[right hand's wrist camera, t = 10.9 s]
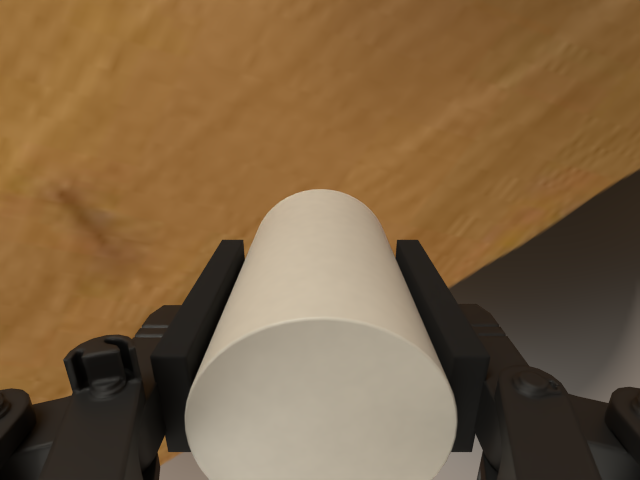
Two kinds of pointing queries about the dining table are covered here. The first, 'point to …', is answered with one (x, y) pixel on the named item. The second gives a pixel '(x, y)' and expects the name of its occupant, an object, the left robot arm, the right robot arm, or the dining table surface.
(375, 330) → the can
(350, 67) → the dining table surface
